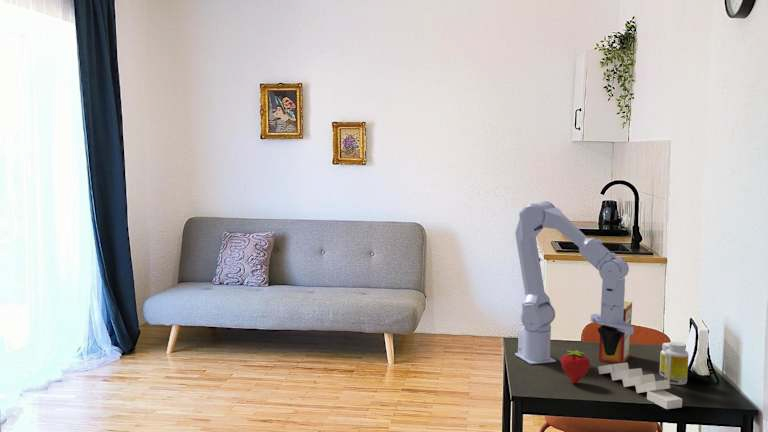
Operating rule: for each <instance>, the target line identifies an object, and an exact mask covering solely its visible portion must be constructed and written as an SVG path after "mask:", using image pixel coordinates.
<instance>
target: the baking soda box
mask: <svg viewBox="0 0 768 432" xmlns="http://www.w3.org/2000/svg"><path fill="white" fill-rule="evenodd" d="M632 312H633V302H632V301H624V313H623V321H624V322H626V323H627V324H629V325H630V326H632V317H633V316H632ZM601 326H602V325H600V327H601ZM598 348H599V349H598V351H599V352H598V362H601V363H602V362H603V363H608V364H609V363H610V364H618V363H626V361H627V360H628V358H630V353H631V335H626V334H625V333H624V335H623V336H622V338H621V339H620V341H619V343H618V346H617V349H616V352H615V355H611V356H608V355H606V354H605V350H604V345H603V341H602V338H601V336H600V335H599V347H598ZM626 359H627V360H626Z"/></svg>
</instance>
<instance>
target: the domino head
mask: <svg viewBox="0 0 768 432" xmlns="http://www.w3.org/2000/svg"><path fill="white" fill-rule="evenodd" d="M597 368H598V369H597V370H598V374H599V375H603V374H604V375H605V374H611V373H613V372H618V371H623V370H629V369H630V368H629V363H628V362H624V363H618V364H615V363H610V364H607V365H600V366H599V365H598V366H597Z"/></svg>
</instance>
